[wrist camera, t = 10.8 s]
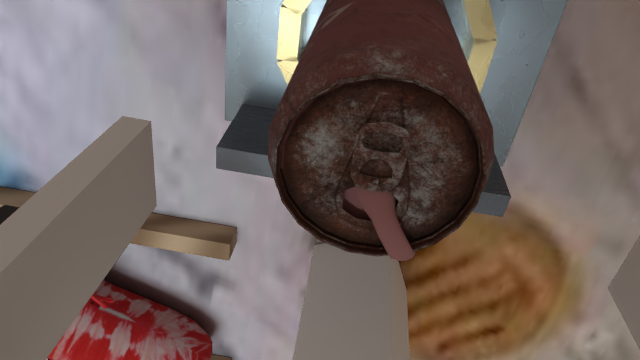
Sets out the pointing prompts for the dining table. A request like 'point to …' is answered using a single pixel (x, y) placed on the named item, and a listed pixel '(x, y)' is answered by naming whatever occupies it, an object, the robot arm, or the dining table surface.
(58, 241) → the robot arm
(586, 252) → the dining table surface
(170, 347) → the water bottle
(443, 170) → the can
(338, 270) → the milk
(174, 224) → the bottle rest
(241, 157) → the bolted ring bracket
